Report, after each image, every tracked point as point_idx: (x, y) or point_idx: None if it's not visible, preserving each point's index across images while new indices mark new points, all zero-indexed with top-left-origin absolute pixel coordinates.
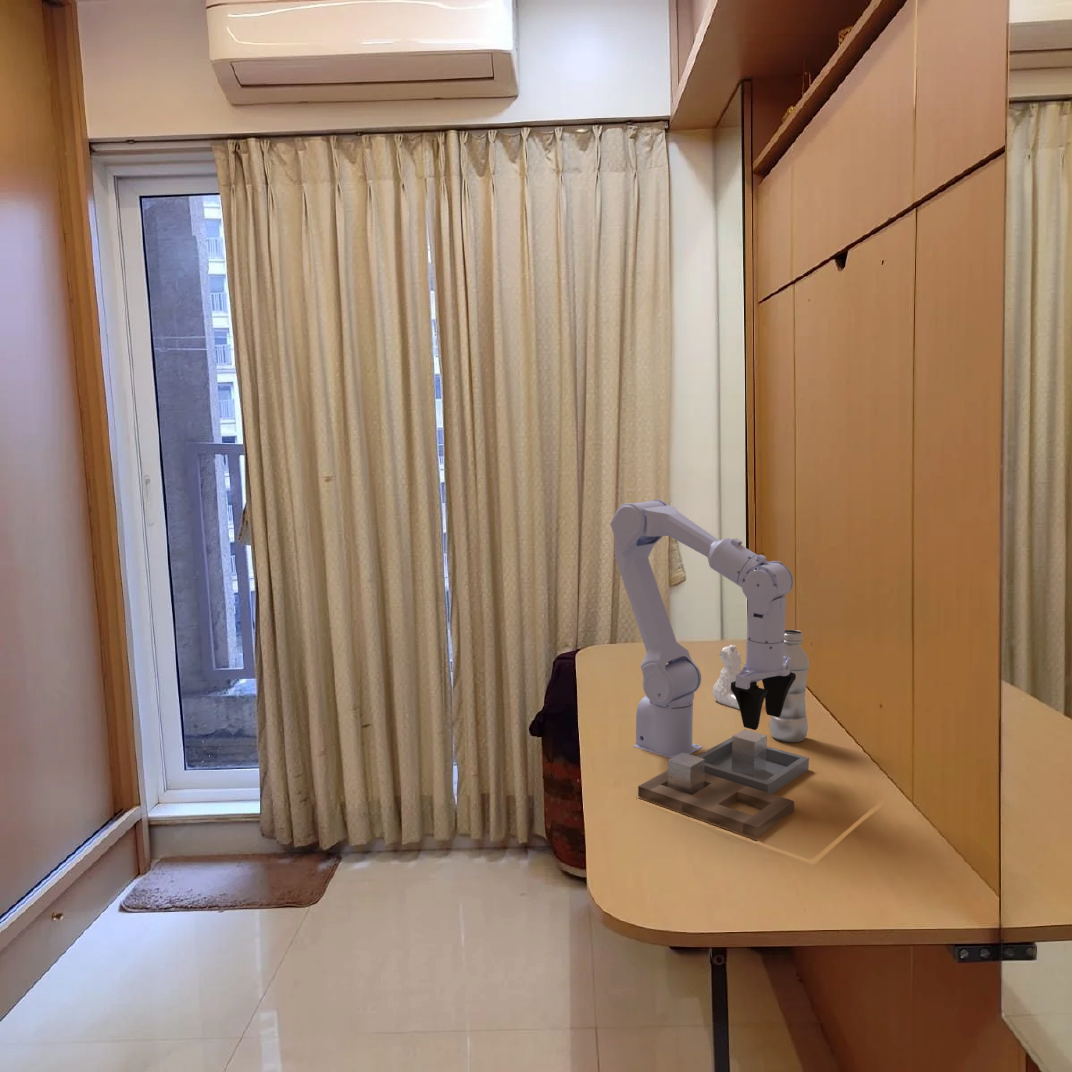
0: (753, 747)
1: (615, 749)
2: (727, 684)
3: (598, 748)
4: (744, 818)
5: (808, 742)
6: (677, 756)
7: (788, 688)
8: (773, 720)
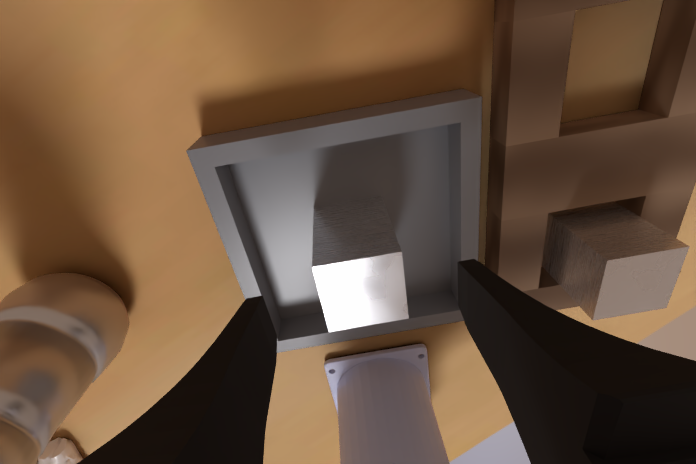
0: (398, 243)
1: (453, 423)
2: None
3: (470, 435)
4: None
5: (37, 265)
6: (630, 309)
7: (170, 406)
8: (107, 359)
